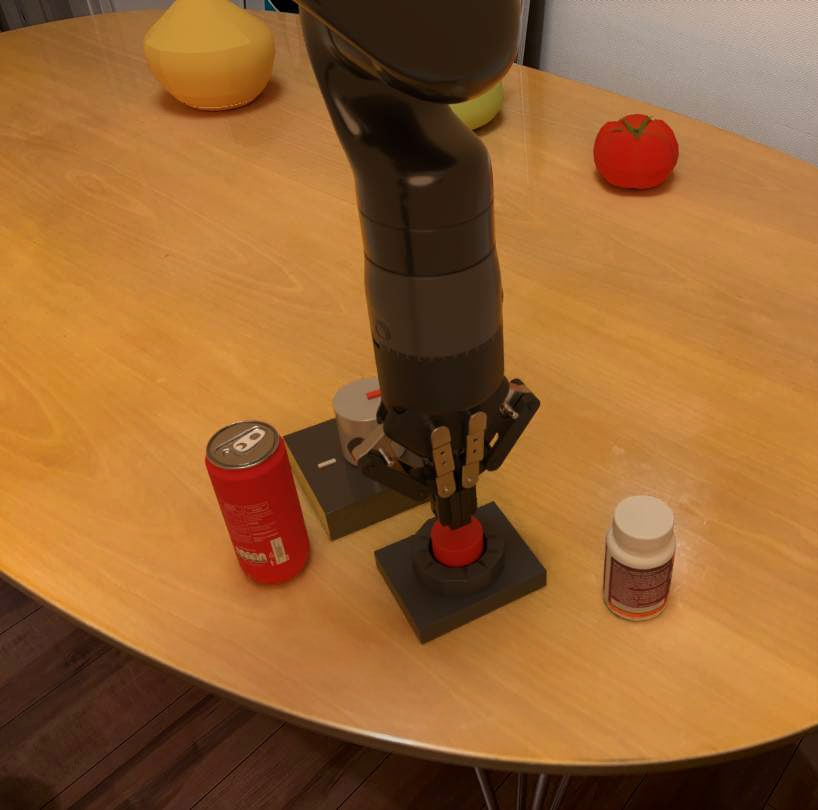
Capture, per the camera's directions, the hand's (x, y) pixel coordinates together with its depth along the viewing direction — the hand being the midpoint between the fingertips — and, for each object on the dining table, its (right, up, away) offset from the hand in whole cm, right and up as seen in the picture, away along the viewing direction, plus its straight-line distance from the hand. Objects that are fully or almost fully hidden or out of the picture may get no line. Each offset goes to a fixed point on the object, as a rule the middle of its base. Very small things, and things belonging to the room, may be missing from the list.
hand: (454, 519), depth 61 cm
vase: (-42, +54, +73) cm, 101 cm away
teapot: (-6, +49, +67) cm, 84 cm away
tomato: (+18, +37, +53) cm, 67 cm away
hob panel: (-7, +2, +12) cm, 14 cm away
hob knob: (-7, +5, +10) cm, 13 cm away
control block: (0, -5, +4) cm, 6 cm away
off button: (0, -2, +2) cm, 3 cm away
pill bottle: (+13, -6, +3) cm, 14 cm away
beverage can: (-14, -4, +5) cm, 15 cm away
